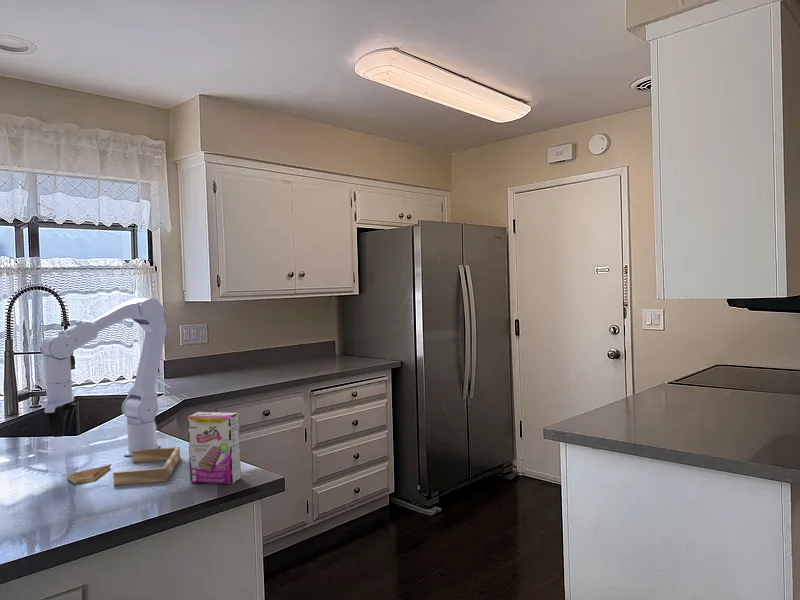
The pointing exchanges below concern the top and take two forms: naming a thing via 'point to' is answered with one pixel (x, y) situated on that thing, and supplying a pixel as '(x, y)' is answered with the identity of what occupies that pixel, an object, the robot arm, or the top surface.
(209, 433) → the candy bar box
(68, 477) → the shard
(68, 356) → the robot arm
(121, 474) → the frame
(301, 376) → the top surface
